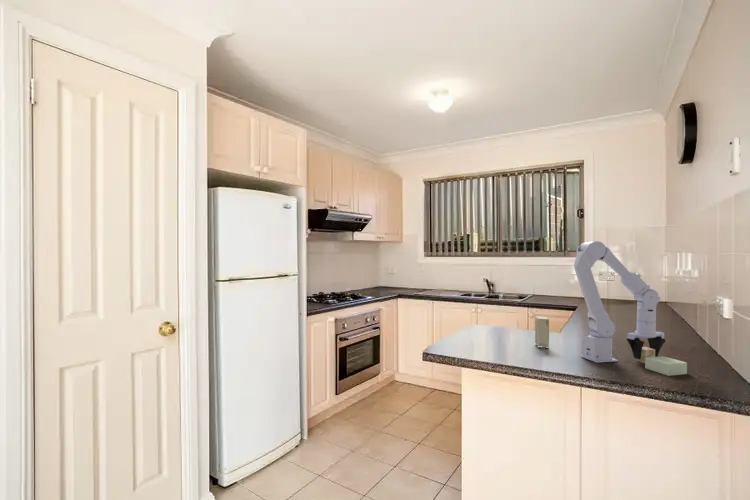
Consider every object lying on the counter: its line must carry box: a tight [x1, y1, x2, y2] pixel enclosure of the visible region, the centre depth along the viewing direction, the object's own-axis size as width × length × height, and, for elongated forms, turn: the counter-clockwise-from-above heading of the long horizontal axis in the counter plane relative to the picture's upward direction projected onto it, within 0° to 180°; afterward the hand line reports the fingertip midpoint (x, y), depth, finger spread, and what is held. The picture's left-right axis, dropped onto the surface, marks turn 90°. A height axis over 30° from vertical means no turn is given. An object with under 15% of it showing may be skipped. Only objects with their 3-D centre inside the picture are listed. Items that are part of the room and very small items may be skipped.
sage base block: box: [644, 355, 688, 377], centre depth 130 cm, size 8×8×4 cm
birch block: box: [635, 346, 655, 364], centre depth 140 cm, size 4×4×5 cm
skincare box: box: [534, 316, 550, 349], centre depth 160 cm, size 6×4×12 cm
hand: (645, 357), depth 140 cm, fingers open, 7 cm apart
